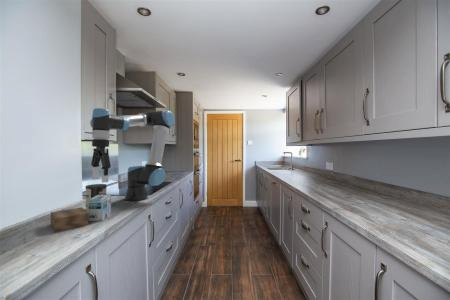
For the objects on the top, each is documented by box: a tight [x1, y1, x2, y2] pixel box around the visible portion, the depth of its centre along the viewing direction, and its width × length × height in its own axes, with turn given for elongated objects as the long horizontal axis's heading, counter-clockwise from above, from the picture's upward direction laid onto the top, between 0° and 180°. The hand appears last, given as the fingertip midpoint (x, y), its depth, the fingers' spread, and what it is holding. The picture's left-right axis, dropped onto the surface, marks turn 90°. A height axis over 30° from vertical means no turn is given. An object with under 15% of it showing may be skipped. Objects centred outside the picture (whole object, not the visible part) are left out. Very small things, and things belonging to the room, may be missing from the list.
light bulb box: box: [88, 194, 112, 222], centre depth 105 cm, size 11×7×11 cm, turn 9°
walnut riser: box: [50, 206, 89, 233], centre depth 94 cm, size 12×12×6 cm
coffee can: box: [85, 183, 107, 213], centre depth 118 cm, size 10×10×14 cm
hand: (100, 180), depth 105 cm, fingers open, 13 cm apart
